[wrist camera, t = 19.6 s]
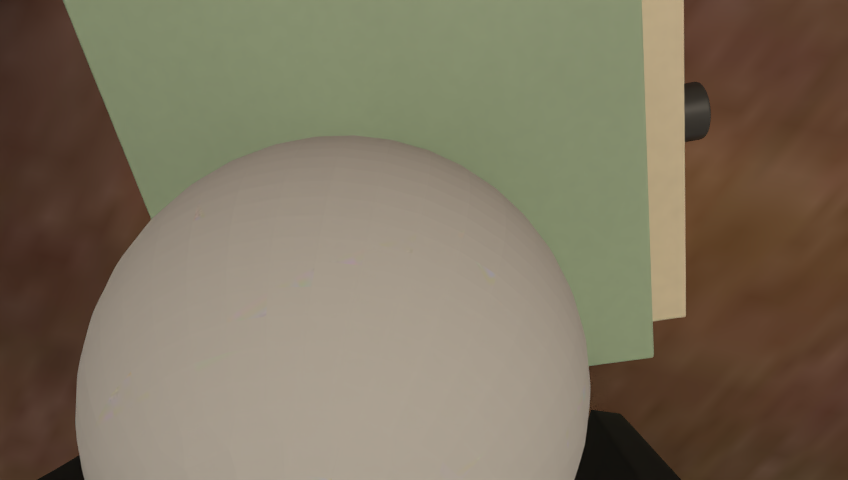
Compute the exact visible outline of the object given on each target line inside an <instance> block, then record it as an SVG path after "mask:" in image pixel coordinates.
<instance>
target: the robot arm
mask: <svg viewBox="0 0 848 480" xmlns="http://www.w3.org/2000/svg"><path fill="white" fill-rule="evenodd" d="M38 480H84V476H83V472H82V467H81V461H80V455H79V456H77V457H76V458H74V459H72V460H71V461H69V462H67V463H66V464H64V465H62V466H61V467H59V468H57V469H55V470H54V471H52V472H50V473H48V474H47V475H45V476H43V477H41V478H39V479H38ZM574 480H681V479H680V478H679V477H678V476H677V475H676V474H675V473H674V472H673V470H672V469H671V468H670V467H669V466H668V465H667V464H666V463H665V462H664V461H663V460H662V458H661V457H660V456H659V455H658V454H657V453H656V452H655V451H654V450H653V449H652V447H651V446H650V445H649V444H648V443H647V442H646V441H645V440H644V439H643V437H642V436H641V435H640V434H639V433H638V432H637V431H636V430H635V429H634V428H633V427H632V425H631V424H630V423H629V422H628V421H627V420H626V419H625V418H624V417H623V416H622V415H621V414H618V413H610V412H603V411H596V410H591V413H590V416H589V419H588V424H587V433H586V440H585V446H584V449H583V453H582V457H581V460H580V463H579V467H578V470H577V473H576V476H575V479H574Z"/></svg>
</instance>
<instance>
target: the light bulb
mask: <svg viewBox="0 0 848 480" xmlns="http://www.w3.org/2000/svg"><path fill="white" fill-rule="evenodd" d="M589 404H590V377H589V366H588V355H587V345H586V338H585V334H584V330H583V326H582V323H581V320H580V316H579V313H578V309H577V306H576V303H575V299H574V296H573V293H572V291H571V288H570V286H569V284H568V282H567V280H566V278H565V276H564V274H563V272H562V270H561V268H560V266H559V264H558V262H557V260H556V259H555V257H554V255H553V253H552V251H551V250H550V248H549V246H548V245H547V244H546V243H545V241H544V240H543V239H542V237H541V236H540V235H539V233H538V232H537V231H536V229H535V228H534V227H533V225H532V224H531V223H530V221H529V220H528V219H527V218H526V217H525V215H524V214H523V213H522V212H521V211H520V210H519V209H517V208H516V207H515V206H514V205H513V204H512V203H511V202H510V201H509V200H508V199H507V198H506V197H505V196H504V195H503V194H501V193H500V192H499V191H498V190H497V189H496V188H495V187H493V186H492V185H490V184H489V183H487V182H486V181H484V180H483V179H481V178H480V177H478V176H477V175H475V174H474V173H472V172H471V171H469V170H468V169H466V168H465V167H463V166H462V165H459V164H457V163H455V162H453V161H451V160H449V159H446V158H444V157H442V156H440V155H438V154H436V153H433V152H431V151H429V150H426V149H422V148H419V147H415V146H412V145H408V144H405V143H401V142H398V141H394V140H388V139H380V138H372V137H364V136H356V135H349V136H321V137H311V138H305V139H300V140H295V141H290V142H285V143H280V144H275V145H272V146H269V147H266V148H264V149H261V150H258V151H256V152H253V153H251V154H248V155H245V156H243V157H240V158H237V159H235V160H232V161H230V162H228V163H227V164H225V165H223V166H222V167H220V168H218V169H217V170H215V171H213V172H211V173H210V174H208V175H206V176H205V177H203V178H201V179H200V180H198V181H196V182H195V183H193V184H192V185H190V186H189V187H188V188H186V189H185V190H184V191H183V192H182V193H181V194H180V195H178V196H177V197H176V198H175V199H174V200H173V201H172V202H170V203H169V204H168V205H167V206H166V207H165V208H163V209H162V210H161V211H160V212H159V213H158V214H157V215H155V216H154V217H153V218H152V219H151V221H150V222H149V223H148V224H147V225H146V226H145V228H144V229H143V230H142V232H141V233H140V234H139V235H138V237H137V238H136V239H135V240H134V242H133V243H132V244H131V246H130V247H129V248H128V249H127V251H126V252H125V253H124V255H123V256H122V257H121V259H120V260H119V262H118V264H117V265H116V267H115V268H114V270H113V272H112V274H111V276H110V279H109V281H108V283H107V285H106V287H105V289H104V291H103V293H102V295H101V297H100V299H99V301H98V303H97V305H96V307H95V309H94V312H93V314H92V317H91V321H90V324H89V327H88V331H87V335H86V339H85V342H84V346H83V350H82V354H81V358H80V363H79V369H78V374H77V394H76V421H75V424H76V435H77V443H78V449H79V455H80V461H81V467H82V472H83V476H84V480H574V479H575V476H576V473H577V470H578V467H579V463H580V460H581V457H582V453H583V449H584V446H585V440H586V433H587V424H588V414H589Z"/></svg>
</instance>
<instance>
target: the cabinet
mask: <svg viewBox="0 0 848 480" xmlns="http://www.w3.org/2000/svg"><path fill="white" fill-rule="evenodd" d="M63 2H64V5H65V7H66V10H67V12H68V15H69V17H70V19H71V22H72V24H73V27H74V29H75V32H76V34H77V37H78V39H79V42H80V44H81V47H82V49H83V52H84V54H85V57H86V59H87V61H88V64H89V66H90V69H91V71H92V74H93V76H94V79H95V81H96V84H97V86H98V89H99V91H100V94H101V96H102V99H103V101H104V104H105V106H106V108H107V111H108V113H109V116H110V118H111V121H112V123H113V126H114V128H115V131H116V133H117V136H118V138H119V141H120V143H121V146H122V148H123V151H124V153H125V155H126V158H127V160H128V163H129V165H130V168H131V170H132V173H133V175H134V178H135V180H136V183H137V185H138V188H139V190H140V193H141V195H142V198H143V200H144V202H145V205H146V207H147V210H148V212H149V215H150V217H151V219H152V218H153V217H154V216H155V215H157V214H158V213H159V212H160V211H161V210H162V209H163V208H165V207H166V206H167V205H168V204H169V203H170V202H172V201H173V200H174V199H175V198H176V197H177V196H178V195H180V194H181V193H182V192H183V191H184V190H185V189H186V188H188V187H189V186H190V185H192V184H193V183H195V182H196V181H198V180H200V179H201V178H203V177H205V176H206V175H208V174H210V173H211V172H213V171H215V170H217V169H218V168H220V167H222V166H223V165H225V164H227V163H228V162H230V161H232V160H235V159H237V158H240V157H243V156H245V155H248V154H251V153H253V152H256V151H258V150H261V149H264V148H266V147H269V146H272V145H275V144H280V143H285V142H290V141H295V140H300V139H305V138H311V137H321V136H349V135H356V136H364V137H372V138H380V139H388V140H394V141H398V142H401V143H405V144H408V145H412V146H415V147H419V148H422V149H426V150H429V151H431V152H433V153H436V154H438V155H440V156H442V157H444V158H446V159H449V160H451V161H453V162H455V163H457V164H459V165H462V166H463V167H465V168H466V169H468V170H469V171H471V172H472V173H474V174H475V175H477V176H478V177H480V178H481V179H483V180H484V181H486V182H487V183H489V184H490V185H492V186H493V187H495V188H496V189H497V190H498V191H499V192H500V193H501V194H503V195H504V196H505V197H506V198H507V199H508V200H509V201H510V202H511V203H512V204H513V205H514V206H515V207H516V208H517V209H519V210H520V211H521V212H522V213H523V214H524V215H525V217H526V218H527V219H528V220H529V221H530V223H531V224H532V225H533V227H534V228H535V229H536V231H537V232H538V233H539V235H540V236H541V237H542V239H543V240H544V241H545V243H546V244H547V245H548V246H549V248H550V250H551V251H552V253H553V255H554V257H555V259H556V260H557V262H558V264H559V266H560V268H561V270H562V272H563V274H564V276H565V278H566V280H567V282H568V284H569V286H570V288H571V291H572V293H573V296H574V299H575V303H576V306H577V309H578V313H579V316H580V320H581V323H582V326H583V330H584V334H585V338H586V345H587V355H588V366H593V365H600V364H608V363H615V362H623V361H630V360H637V359H645V358H652V357H653V356H654V347H653V317H652V288H651V258H650V229H649V199H648V170H647V140H646V111H645V82H644V52H643V23H642V0H63Z"/></svg>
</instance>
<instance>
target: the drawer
mask: <svg viewBox="0 0 848 480" xmlns="http://www.w3.org/2000/svg"><path fill="white" fill-rule="evenodd" d="M642 23H643V52H644V82H645V111H646V140H647V170H648V199H649V229H650V258H651V288H652V317H653V321H658V320H665V319H672V318H680V317H685V316H686V255H685V142H688V141H693V140H699V139H702V138H704V137H705V136H706V134H707V132H708V130H709V126H710V118H711V111H710V103H709V98H708V95H707V92H706V90H705V88H704V87H703V86H702V84H700V83H698V82H691V83H686V84H684V0H642Z"/></svg>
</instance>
